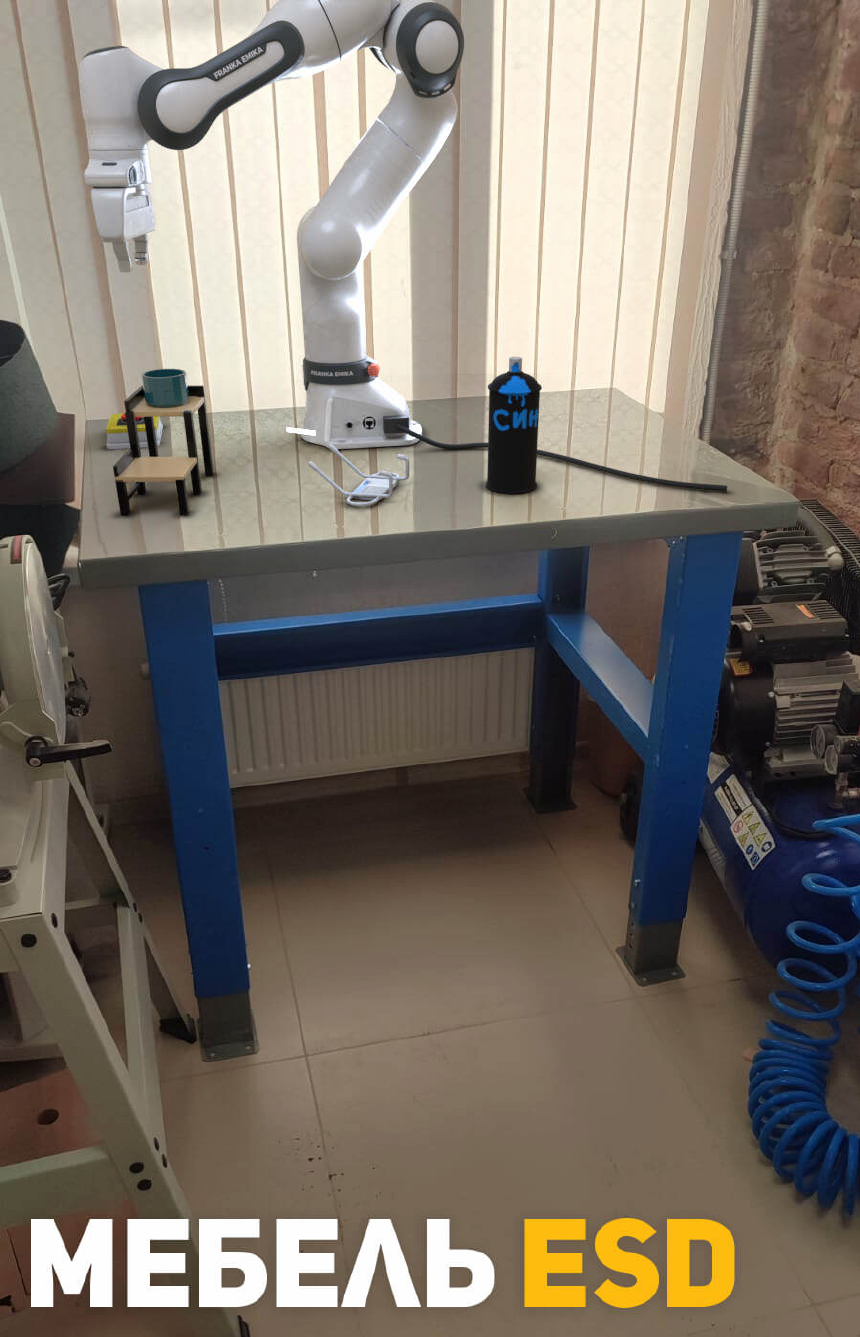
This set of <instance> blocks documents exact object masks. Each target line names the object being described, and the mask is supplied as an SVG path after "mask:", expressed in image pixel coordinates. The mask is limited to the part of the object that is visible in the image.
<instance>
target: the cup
mask: <svg viewBox="0 0 860 1337" xmlns="http://www.w3.org/2000/svg"><path fill="white" fill-rule="evenodd" d="M140 375H141V382H142V386H143V389H144V396H145V401H146V403H148V405H149V406H151V407H156V408H171V407H178V406H182V405H184V404H186V403H187V401H188V400H189V392H188V386H189V384H188V376H187V372H186V370H184V369H181V368H180V369H179V368H157V369H150V370H146V371H143V373H141V374H140Z"/></svg>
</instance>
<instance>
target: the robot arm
mask: <svg viewBox="0 0 860 1337" xmlns="http://www.w3.org/2000/svg"><path fill="white" fill-rule="evenodd" d="M363 49H369V50H370V52H371V53H372V55H373V56H374V57H375V59H376V60H377V61H378V62H379V63H380V64H381V65H382V66H384V67H385V68H387V69H388V70H390V72H391V71H392V72H393V73H394V74H396V75H395V84H394V88H393V91H392V94H391V96H390V98H389V100H388V102H387V104H386V105H385V107H383V109H382V110H381V111H380V113H379V114H378V115H377V116H376V118H375V120H374V121H373V122H372V123H371V125H370V127H368V129H367V130H366V132H365V133H364V135H363V136H362V137H361V138H360V140H359V142H358V143H357V144H356V146H354V149H353V150H352V151H351V153H350V154H349V156H348V157H347V159H346V160H345V161H344V162H343V165H342V166H341V168H339V169H340V170H339V171H338V172H337V174H336V175H335V177H334V179H333V180H332V182H331V183H330V185H329V186H328V188H327V189H326V190H325V192H324V194H323V195H322V196H321V198H320V200H319V201H318V203H317V204H315V205H314V206H312V207H311V208H309V209H308V210H307V211H306V212H304V214H303V215H302V217H301V218H300V220H299V222H298V225H297V230H296V246H297V261H298V275H299V286H300V287H299V288H300V289H299V290H300V303H301V304H300V305H301V319H302V334H303V348H304V357H303V359H302V365H301V366H302V367H301V368H302V381H303V386H304V390H305V409H304V419H303V425H302V428H295V427H289V426H288V427H286V432H287V433H293V434H294V433H295V434H300V438H302V439H303V440H304V441H306V442H308V443H311V444H316V445H321V446H323V447H325V448H328V449H329V445H330V444H332V445H333V446H334V447H335V448H336V449H338V450H345V449H346V450H347V449H349V450H350V449H363V448H365V449H366V448H379V447H382V448H383V447H397V446H410V445H411V446H412V445H415V444H416V443H418V442H419V441H422V442H423V443H425V444H428V445H429V446H432V447H435V448H437V449H438V448H439V449H445V450H467V449H478V448H480V449H481V448H483V449H485V448H486V449H488V442H486V441H485V442H482V441H481V442H469V443H456V444H455V443H443V442H439V441H436V440H433V439H431V438H430V437H429V438H428V437H426V436H424V435H423V428H422V425H421V424H420V423H419V422H417V421H415V420H412V419H411V412H410V409H409V406H408V403H407V401H406V399H405V397H404V396H402V395H401V394H400V393H399V392H398V391H396V390H395V389H393V388H392V387H391V386H390V385H388V384H387V383H386V382H384V381H383V380H381V378H379V374H380V366H379V362H378V361H377V360H378V359H376V358H374V359H373V358H372V357H370V356H368V355H367V340H366V339H367V336H366V308H365V300H364V287H363V286H364V285H363V275H362V274H363V271H362V262H363V261H364V260H365V258H366V257H367V256H368V254H369V252H370V251H371V249H372V248H373V247H374V245H375V243H376V242H377V241H378V239H379V238H380V236H381V234H382V233H383V231H384V230H385V228H386V227H387V226H388V223H389V222H390V221H391V219H392V217H393V215H394V214H395V213H396V210H398V208H399V206H400V205H401V203H403V201H404V200H405V198H406V197H407V196H408V194H409V193H410V192H411V190H412V189H413V188H414V187H415V185H416V184H417V183H418V181H419V180H420V178H421V177H422V176H423V175H424V173H425V172H426V171H427V169H428V168H429V166H430V165H431V163H432V162H433V161H434V160H435V158H436V156H437V155H438V153H439V152H440V150H441V149H442V147H443V145H444V143H445V141H446V140H447V138H448V136H449V135H450V134H451V131H452V129H453V127H454V125H455V123H456V120H457V118H458V114H459V105H458V101H457V99H456V97H455V94H454V92H453V91H452V88H453V87H454V86H455V84H456V79H457V76H458V75H457V74H458V70H459V68H460V66H461V62H462V60H463V57H464V51H465V37H464V32H463V27H462V26H461V24H460V21H459V19H458V18H457V16H455V14H454V13H453V12H452V11H451V10H450V9H449V8H448V7H446V6H445V5H444V4H442V3H439V2H436V1H434V0H278V1H277V2H276V3H275V4H274V5H273V6H272V7H271V8H270V9H269V10H268V11H267V12H266V13H265V14H264V16H263V18H262V19H261V21H260V22H259V24H258V25H257V26H256V27H255V28H254V29H253V30H252V32H251V33H250V34H248V35H247V36H246V37H245V38H243V39H242V40H241V41H240V42H237V43H236V44H234V45H232V46H231V47H229V48H227V49H225V50H224V51H222V52H220V53H219V54H217V55H215V56H214V57H212V58H210V59H208V60H206V61H205V62H202V63H200V64H198V65H196V66H193V67H186V68H184V67H183V68H181V67H180V68H179V67H178V68H174V67H173V68H165V69H164V68H162V67H159V66H158V65H156V64H154V63H151V62H149V61H148V60H146V59H145V58H143V57H141V56H139V55H138V54H137V53H135V52H134V51H133V50H132V49H131V48H130V47H128V46H125V45H115V46H113V45H112V46H106V47H102V48H97V49H94V50H91V51H89V52H87V53H86V54H85V55H84V56H83V57H82V58H81V60H80V62H79V66H78V87H79V98H80V106H81V111H82V118H83V120H84V123H85V125H86V129H87V136H88V138H87V140H88V141H87V152H88V164H87V167H86V168H85V170H84V173H83V174H84V181H85V186H86V187H87V188H91V189H90V198H91V204H92V209H93V215H94V220H95V225H96V228H97V233H98V235H99V237H100V239H101V241H102V242H103V243H110V244H111V246H112V250H113V253H114V256H115V258H116V260H117V264H118V271H119V272H120V273H131V272H132V271H133V270H134V266H133V258H131V256H130V251H129V248H130V244H129V243H130V242H129V241H131V240H133V242H134V254H133V255H134V261H135V262H134V263H135V264H136V265H138V266H145V265H147V264H148V263H149V255H148V250H149V235H148V234H149V233H151V232H154V231H155V230H156V225H157V224H156V214H155V207H154V203H153V197H152V191H151V187H150V185H149V184H152V183H153V177H152V168H151V160H150V153H149V142H150V141H153V142H155V143H156V144H157V145H159V146H161V147H163V148H165V149H168V150H173V151H185V150H189V149H191V148H193V147H195V146H197V145H198V144H199V143H200V142H201V141H202V140H203V139H204V138H205V136H206V135H207V134H208V132H209V131H210V129H211V127H212V126H213V124H214V122H215V121H216V119H217V118H219V116H220V115H221V114H222V113H224V112H225V111H226V110H228V109H229V108H231V107H233V106H234V105H236V104H237V103H239V102H241V101H242V100H244V99H246V98H247V97H249V96H251V95H253V94H254V93H255V92H258V91H259V90H261V89H263V88H264V87H266V86H268V85H271V84H274V83H277V82H279V81H286V80H297V79H298V80H299V79H301V78H306V77H309V76H311V75H315V74H317V73H320V72H322V71H324V70H327V69H329V68H330V67H333V66H334V65H337V64H338V63H339V62H342V61H343V60H344V59H346V58H348V57H349V56H351V55H352V54H354V53H355V52H356V51H361V50H363ZM449 85H450V86H449ZM537 456H541V457H545V458H550V459H554V460H558V461H561V462H565V463H569V464H573V465H577V466H581V467H583V468H587V469H591V470H593V471H598V472H602V473H605V474H606V473H607V474H610V475H613V476H617V477H620V478H625V479H628V480H629V479H630V480H634V481H639V482H643V483H647V484H648V483H649V484H654V485H660V486H666V487H673V488H680V489H690V490H701V491H702V490H703V491H716V492H728V485H726V484H725V485H723V484H710V483H699V482H688V481H687V482H686V481H678V480H671V479H665V478H657V477H652V476H648V475H642V474H637V473H632V472H628V471H624V470H619V469H615V468H611V467H608V466H606V465H605V466H604V465H602V464H601V465H600V464H596V463H592V462H590V461H586V460H583V459H579V458H575V457H571V456H568V455H564V454H560V453H554V452H551V451H547V450H542V449H538V448H537Z"/></svg>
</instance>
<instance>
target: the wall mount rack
mask: <svg viewBox="0 0 860 1337" xmlns="http://www.w3.org/2000/svg"><path fill="white" fill-rule="evenodd" d="M328 449H329V450H330V451H331V452H332V453H333V454H334V455H335V454H336V455H337V456H338V457H339V458H340V459H341V460H342V462H345V464H346V465H348V467H350V468H351V469H352V470H353V471H354V472H355V473H356V474H358V476H360V477H361V478H364V480H363V481H362V482H361V483H360V484H359V485H358V486H357V487H356V488H355V489H353V491H352V492H350V491H349V492H348V491H345V490H344V489H343V488H341V487H340V486H339V485H338V484H337V483H336V482H334V481H333V480H332V479H331V478H330V477H329V476H328V475H326V474H325V472H323V471H322V470H321V469H320V468H319V467H318V466H317V465H316V464H315V463H314V462H313V461H311V460H310V461H308V462H307V466H308V467H309V468H310V469H312V470H313V471H314V472H316V473H317V474H318V475H320V477H321V478H324V480H325V481H327V483H329V484H330V485H331V486H332V487H333V488H335V489H336V490H337V491H338V492H339V493H340V494H342V495H343V496H346V497H347V498H346V503H347V504H348V505H350V506H354V507H367V506H371V505H375V504H376V503H378V502H379V501H380V500H383V499H390V498H391V497H392V496H393V489H394V488H395V487H396V486H397V485H398V482H399V481H407V480H408V479H409V478H410V459H409V457H408V456H406V454H400V453H398V454H397V455H396V458H397V459H398V460H400V461H404V462H405V476H400V474H398V473H396V472H389V471H386V470H382V469H381V470H380V471H379V472H376V473H373V474H365V473H363V472H362V470H360V469H359V468H357V467H356V466H355V465H354V464H353V463H352V462H351V461H350V460H349V459H348V458H346V456H344V454H342V453H341V451H339V449H336V448H335V447H334V446H333V445H332V444H330V445H329V448H328ZM352 499H356V500H366V501H364V502H356V501H351V500H352Z"/></svg>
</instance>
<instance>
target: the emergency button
mask: <svg viewBox="0 0 860 1337" xmlns="http://www.w3.org/2000/svg"><path fill="white" fill-rule="evenodd" d="M153 420H154V427H155V435H156V442H157V447H159V446H160V445H161V440H162V434H163V427H164V425H163V424H164V423H163V422H162V421H161V417H153ZM136 424H137V431H138V438H139V444H140V449H141V448H148V443H147V436H146V429H145V422H144V417H136ZM105 433H106V449H107V450H122V449H124V450H125V449H130V443H129V437H128V430H127V423H126V417H125V413H113V414H110V415H109V419H108V422H107V425H106V427H105Z"/></svg>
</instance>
